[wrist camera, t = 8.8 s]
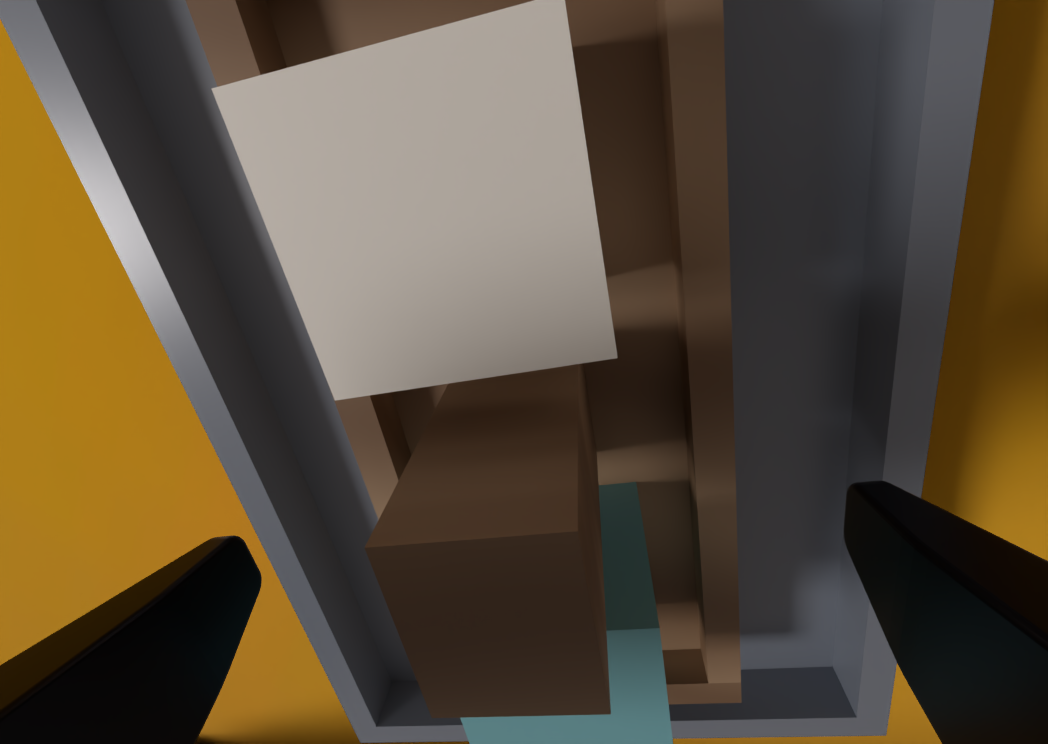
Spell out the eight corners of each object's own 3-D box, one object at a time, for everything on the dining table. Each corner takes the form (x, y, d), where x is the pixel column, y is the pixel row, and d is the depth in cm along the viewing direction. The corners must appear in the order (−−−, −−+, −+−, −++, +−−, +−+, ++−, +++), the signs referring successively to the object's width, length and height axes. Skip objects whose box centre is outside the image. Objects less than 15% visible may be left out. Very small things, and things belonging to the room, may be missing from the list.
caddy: (722, 636, 16) (820, 983, 9) (463, 647, 17) (393, 958, 11) (687, -155, 8) (1021, -1019, 2) (239, -29, 10) (-401, -321, 3)
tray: (844, 653, 17) (885, 735, 14) (386, 670, 19) (360, 742, 17) (937, -400, 8) (1084, -616, 5) (52, -108, 10) (-97, -175, 8)
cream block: (604, 278, 10) (617, 358, 7) (414, 311, 11) (334, 400, 7) (569, 47, 9) (563, -8, 5) (350, 102, 10) (211, 88, 6)
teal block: (651, 604, 14) (676, 771, 10) (504, 612, 15) (479, 772, 11) (636, 481, 12) (659, 628, 9) (472, 497, 13) (431, 639, 9)
